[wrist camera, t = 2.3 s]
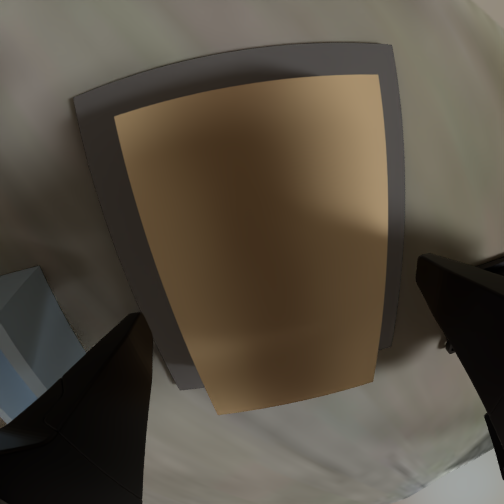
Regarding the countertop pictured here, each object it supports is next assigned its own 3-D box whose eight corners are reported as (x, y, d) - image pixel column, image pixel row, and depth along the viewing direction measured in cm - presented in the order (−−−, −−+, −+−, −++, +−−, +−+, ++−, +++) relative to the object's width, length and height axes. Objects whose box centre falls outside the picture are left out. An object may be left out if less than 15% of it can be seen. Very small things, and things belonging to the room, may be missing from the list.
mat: (387, 46, 9) (391, 44, 9) (388, 341, 16) (391, 346, 16) (77, 97, 9) (73, 97, 9) (180, 385, 16) (179, 390, 15)
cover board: (339, 80, 9) (378, 74, 7) (352, 339, 15) (372, 381, 12) (142, 113, 9) (113, 116, 7) (216, 367, 15) (218, 415, 12)
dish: (39, 265, 12) (-4, 316, 8) (122, 406, 17) (112, 457, 13) (-34, 285, 12) (-70, 324, 8) (46, 404, 16) (31, 446, 13)
